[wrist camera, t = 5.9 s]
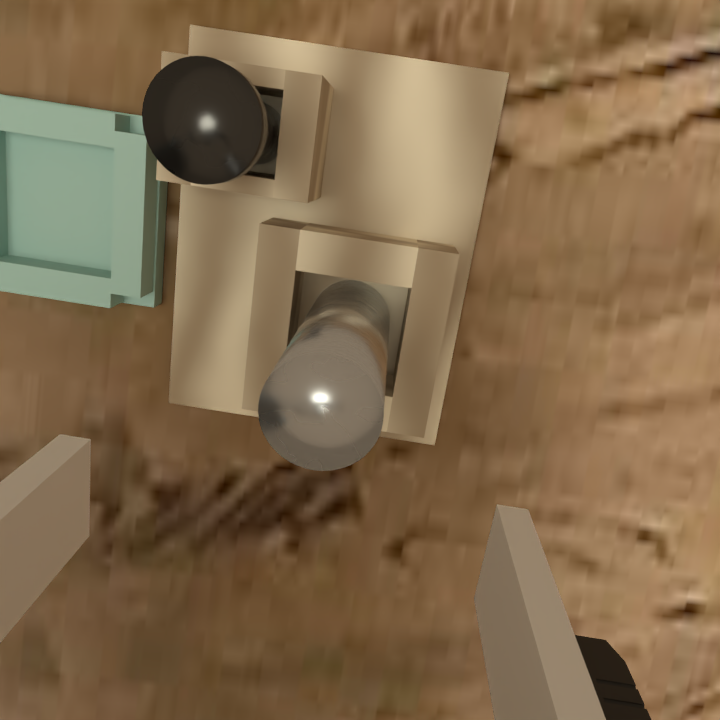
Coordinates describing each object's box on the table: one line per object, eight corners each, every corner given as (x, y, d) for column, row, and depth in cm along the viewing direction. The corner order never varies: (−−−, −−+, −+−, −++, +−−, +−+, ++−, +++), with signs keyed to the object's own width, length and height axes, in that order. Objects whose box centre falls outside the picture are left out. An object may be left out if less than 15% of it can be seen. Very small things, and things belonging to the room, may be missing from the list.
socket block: (173, 398, 38) (135, 437, 33) (194, 27, 32) (152, -1, 27) (433, 439, 38) (439, 486, 33) (506, 75, 32) (528, 56, 26)
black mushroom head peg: (210, 171, 32) (139, 175, 24) (216, 79, 31) (144, 46, 22) (294, 184, 32) (255, 193, 24) (304, 93, 31) (266, 65, 22)
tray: (-8, 276, 37) (-42, 285, 34) (-14, 92, 34) (-53, 85, 31) (161, 303, 37) (141, 314, 34) (171, 120, 33) (149, 116, 31)
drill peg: (307, 350, 36) (252, 460, 23) (316, 274, 35) (264, 344, 21) (383, 362, 36) (373, 479, 23) (395, 286, 35) (392, 364, 21)
